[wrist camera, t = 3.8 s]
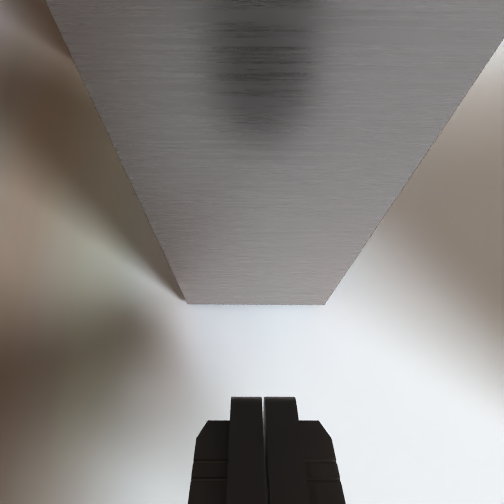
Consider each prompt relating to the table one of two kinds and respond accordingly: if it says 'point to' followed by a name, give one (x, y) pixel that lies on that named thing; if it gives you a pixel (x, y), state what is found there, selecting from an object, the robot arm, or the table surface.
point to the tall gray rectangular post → (273, 124)
